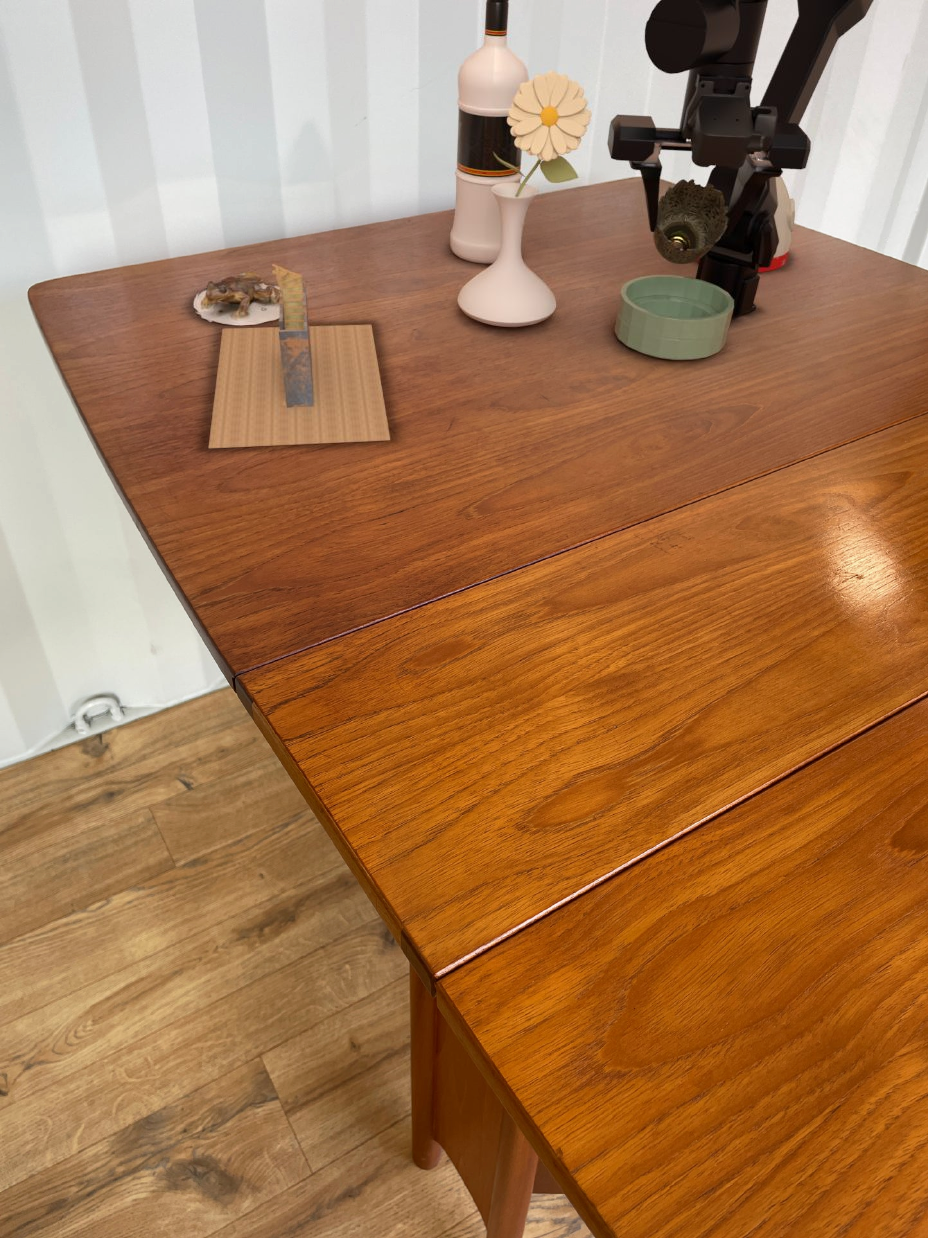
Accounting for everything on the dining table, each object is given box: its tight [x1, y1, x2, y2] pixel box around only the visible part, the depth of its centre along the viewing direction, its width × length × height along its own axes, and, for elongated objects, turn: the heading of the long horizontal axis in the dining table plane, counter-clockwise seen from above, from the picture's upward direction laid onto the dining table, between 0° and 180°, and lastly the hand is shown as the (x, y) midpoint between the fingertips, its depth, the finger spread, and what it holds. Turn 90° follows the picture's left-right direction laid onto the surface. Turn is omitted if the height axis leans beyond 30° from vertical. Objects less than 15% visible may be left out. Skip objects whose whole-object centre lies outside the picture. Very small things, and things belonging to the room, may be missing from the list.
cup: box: [652, 178, 729, 265], centre depth 95 cm, size 8×7×8 cm
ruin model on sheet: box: [208, 263, 391, 449], centre depth 87 cm, size 25×16×10 cm, turn 8°
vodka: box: [449, 0, 530, 265], centre depth 108 cm, size 9×9×30 cm
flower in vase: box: [457, 70, 592, 328], centre depth 95 cm, size 13×11×25 cm
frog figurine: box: [193, 269, 280, 326], centre depth 102 cm, size 12×12×4 cm
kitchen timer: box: [695, 175, 796, 273], centre depth 116 cm, size 14×14×15 cm
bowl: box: [613, 274, 734, 361], centre depth 99 cm, size 12×12×5 cm
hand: (689, 232), depth 92 cm, fingers closed on cup, 7 cm apart
